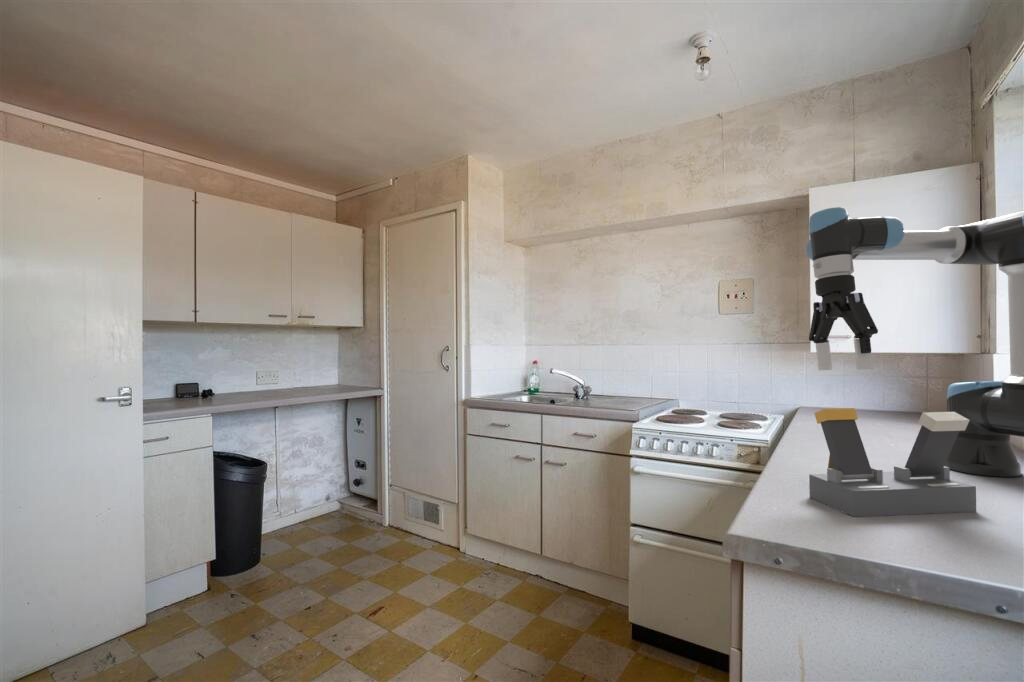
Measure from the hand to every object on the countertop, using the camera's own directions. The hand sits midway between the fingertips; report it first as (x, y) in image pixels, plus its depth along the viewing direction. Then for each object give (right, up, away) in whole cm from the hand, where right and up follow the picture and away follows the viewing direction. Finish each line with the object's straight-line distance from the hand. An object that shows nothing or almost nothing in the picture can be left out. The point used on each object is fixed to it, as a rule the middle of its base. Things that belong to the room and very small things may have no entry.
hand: (843, 369), depth 107 cm
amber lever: (-4, -21, -9) cm, 23 cm away
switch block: (+4, -28, -8) cm, 29 cm away
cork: (+7, -28, +11) cm, 31 cm away
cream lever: (+11, -21, -7) cm, 25 cm away
